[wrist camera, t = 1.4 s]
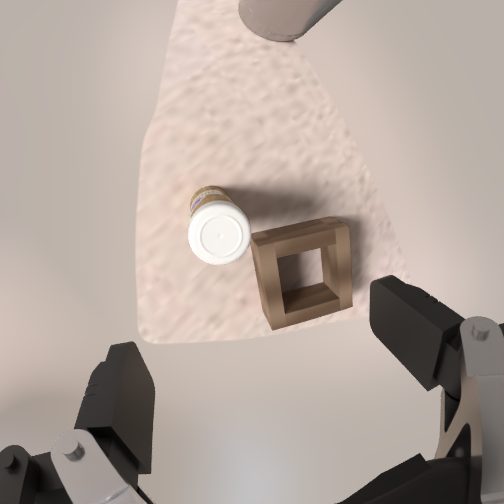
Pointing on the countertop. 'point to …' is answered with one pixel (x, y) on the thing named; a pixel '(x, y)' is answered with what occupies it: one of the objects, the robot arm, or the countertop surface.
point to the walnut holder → (312, 297)
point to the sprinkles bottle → (217, 227)
